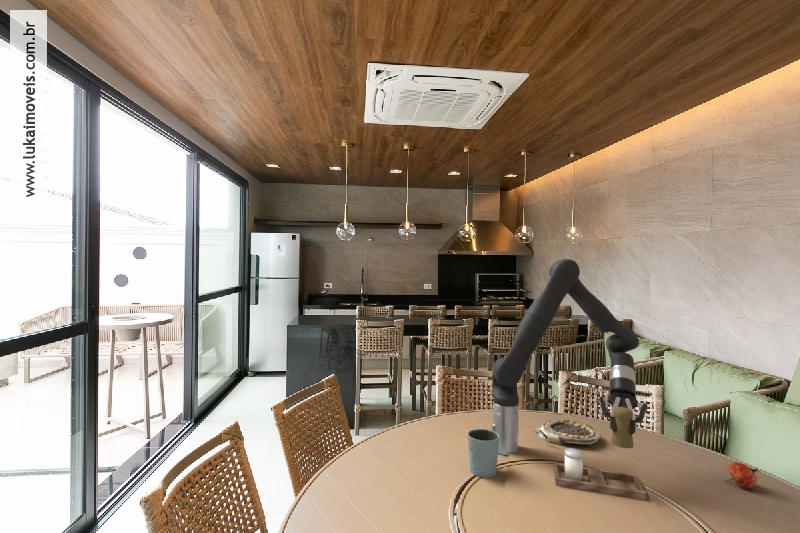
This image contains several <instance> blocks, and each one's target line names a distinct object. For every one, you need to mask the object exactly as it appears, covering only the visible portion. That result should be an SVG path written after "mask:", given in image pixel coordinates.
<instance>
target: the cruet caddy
mask: <svg viewBox="0 0 800 533" xmlns="http://www.w3.org/2000/svg"><path fill="white" fill-rule="evenodd" d="M553 475H554V482H555V487H556V486H557V487H562V488H568V489H575V490H580V491H587V492H593V493H599V494H603V495H611V496H616V497H617V496H618V497H624V498H628V499H629V498H630V499H636V500H641V501H647V492H646V489H644V487H643V485H642V482H641V481H640V479H639V477H638V475H637V474H631V473H625V472H619V471H612V470H604V469H599V468H592V467H591V468H590V467H584V466H583V481H577V480H570V479H565V463H558V462H553Z"/></svg>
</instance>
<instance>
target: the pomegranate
mask: <svg viewBox="0 0 800 533" xmlns="http://www.w3.org/2000/svg"><path fill="white" fill-rule="evenodd" d="M726 470H727V472H728V473H729V474H730V476H731V478H728V479H726V480H724V482H725V481H726V482H728V481H731V480H733V481H734V482H735V483H736V484H737V485H738V487H740V488H741V489H747V490H748V489H752V488H754V487H755V486H756V485H757V482H758V481H757V480H758V477H757V475H756V472H760V470H759V469H758V468H751V467H750V466H748V465H747V464H745V463H742V462H738V461H735V462H732V463H730V464H729V465H727V468H726Z"/></svg>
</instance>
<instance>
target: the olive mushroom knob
mask: <svg viewBox="0 0 800 533" xmlns="http://www.w3.org/2000/svg"><path fill="white" fill-rule="evenodd" d="M613 414H614V416H615V432H613V431H612V434H611V441H610V443H611V444H612V445H613V446H616V447H619V448H622V449H633V448H634V438H633V435H630V420H631V419H632V417H633V414H632V411H631V410H630V409H628V408H625V407H616V408H615V409H614V411H613Z"/></svg>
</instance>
